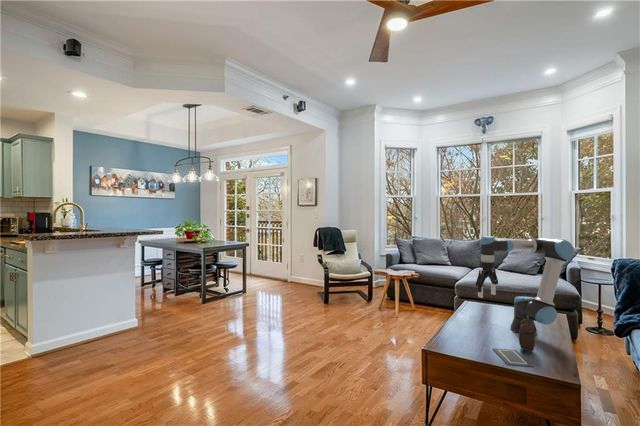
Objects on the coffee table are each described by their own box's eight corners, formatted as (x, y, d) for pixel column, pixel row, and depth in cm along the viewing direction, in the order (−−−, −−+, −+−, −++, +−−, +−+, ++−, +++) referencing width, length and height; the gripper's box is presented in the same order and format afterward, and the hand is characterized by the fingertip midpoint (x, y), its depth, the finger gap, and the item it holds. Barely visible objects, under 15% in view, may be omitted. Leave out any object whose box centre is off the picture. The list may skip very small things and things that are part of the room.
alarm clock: (517, 345, 201) (518, 312, 201) (532, 347, 198) (533, 314, 197) (519, 354, 188) (520, 318, 188) (534, 357, 185) (535, 321, 184)
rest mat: (516, 351, 192) (516, 349, 192) (533, 367, 173) (533, 365, 173) (492, 349, 194) (492, 348, 194) (507, 365, 174) (507, 363, 174)
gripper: (493, 259, 216) (492, 292, 216) (469, 262, 202) (469, 297, 203) (504, 260, 209) (504, 294, 210) (481, 263, 196) (480, 300, 196)
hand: (486, 295), depth 206 cm, fingers open, 13 cm apart
